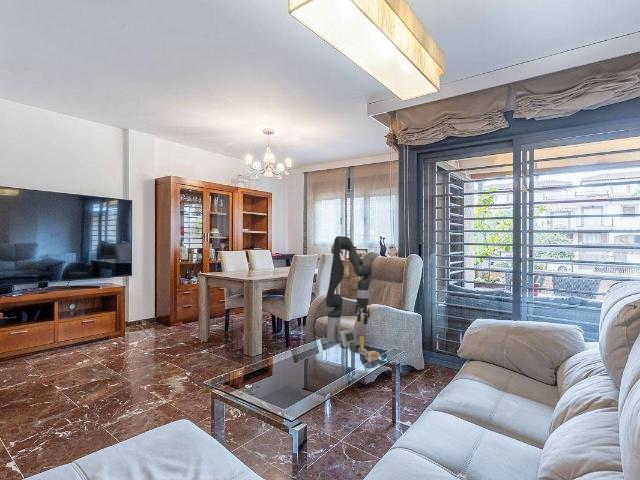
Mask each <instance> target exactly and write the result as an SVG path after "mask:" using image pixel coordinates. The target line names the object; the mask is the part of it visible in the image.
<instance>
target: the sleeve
mask: <svg viewBox="0 0 640 480" xmlns="http://www.w3.org/2000/svg"><path fill="white" fill-rule="evenodd" d="M356 346H359V341H358V342H350V347H349V351H350V352H353V353H357V352H356Z"/></svg>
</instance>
